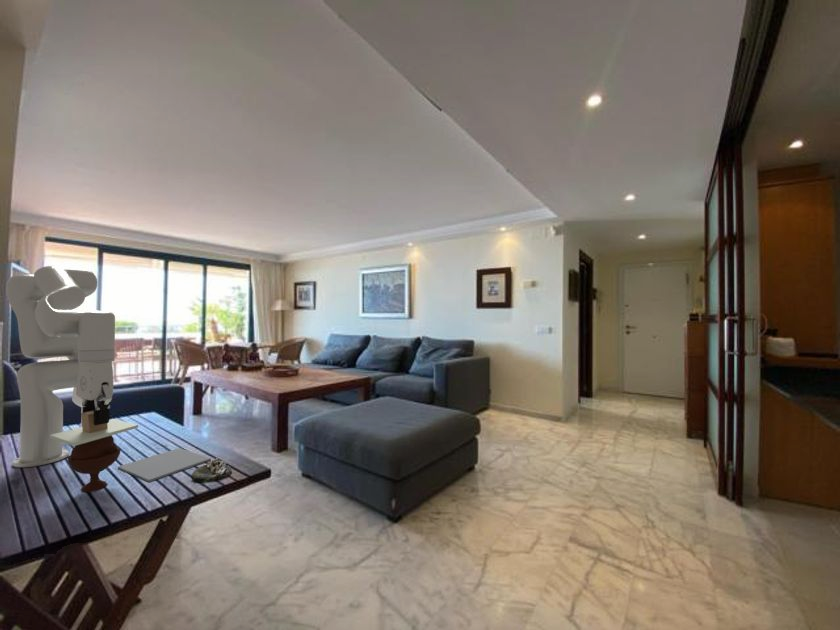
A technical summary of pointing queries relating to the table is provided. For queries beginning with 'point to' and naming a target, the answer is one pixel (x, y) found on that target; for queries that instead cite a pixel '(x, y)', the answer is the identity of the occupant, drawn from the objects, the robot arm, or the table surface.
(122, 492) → the table surface
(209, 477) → the grey green irregular lump
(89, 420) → the cover
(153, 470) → the mat
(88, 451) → the ice cream bowl
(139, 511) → the table surface
